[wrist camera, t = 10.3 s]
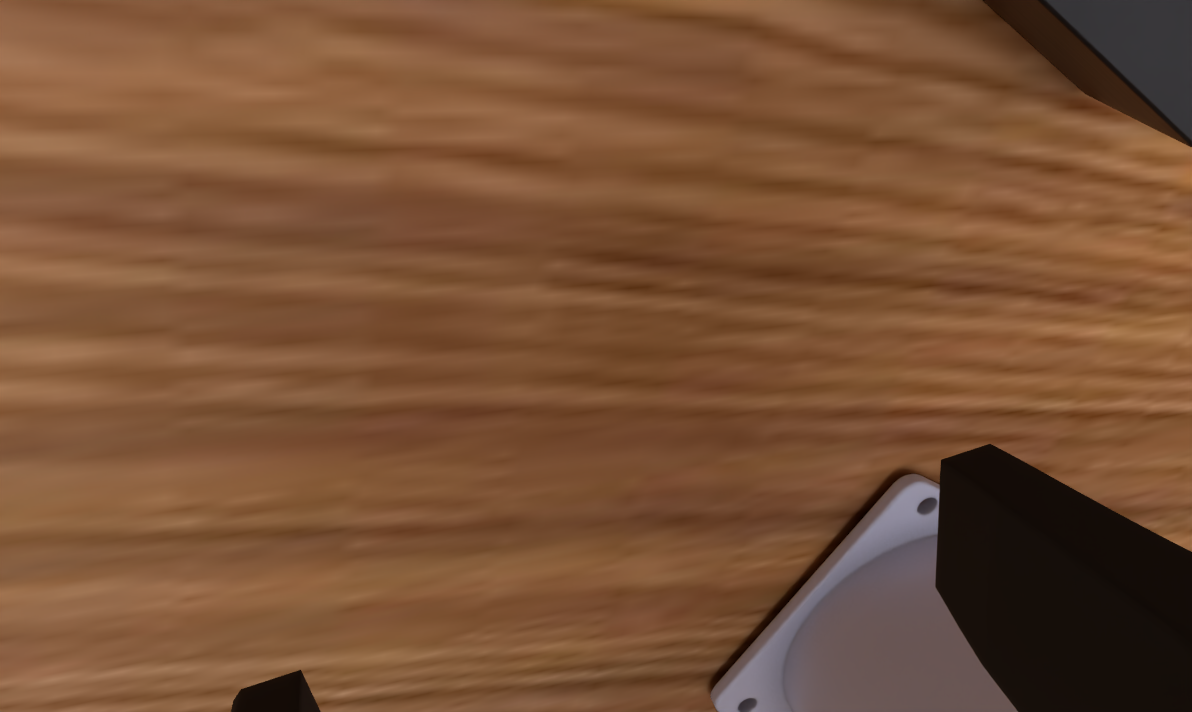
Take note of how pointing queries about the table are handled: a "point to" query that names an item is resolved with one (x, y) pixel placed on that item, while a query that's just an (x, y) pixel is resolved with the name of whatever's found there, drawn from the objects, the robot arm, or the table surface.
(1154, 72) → the hob panel
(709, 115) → the table surface
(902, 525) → the robot arm
